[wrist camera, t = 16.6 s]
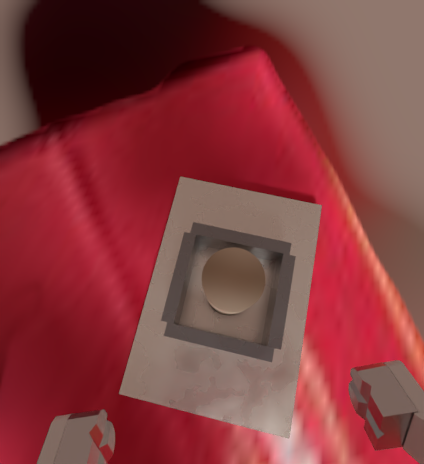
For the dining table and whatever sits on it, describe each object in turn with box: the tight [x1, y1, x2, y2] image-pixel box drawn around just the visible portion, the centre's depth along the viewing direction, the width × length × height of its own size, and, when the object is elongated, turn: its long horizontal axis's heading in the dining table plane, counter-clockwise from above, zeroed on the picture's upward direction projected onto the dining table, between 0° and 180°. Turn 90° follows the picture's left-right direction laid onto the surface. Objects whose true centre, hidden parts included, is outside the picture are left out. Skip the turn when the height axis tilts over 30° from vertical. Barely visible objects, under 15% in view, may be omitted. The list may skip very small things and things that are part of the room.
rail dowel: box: [202, 247, 266, 315], centre depth 24 cm, size 4×4×8 cm
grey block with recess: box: [119, 176, 322, 439], centre depth 27 cm, size 20×14×5 cm
